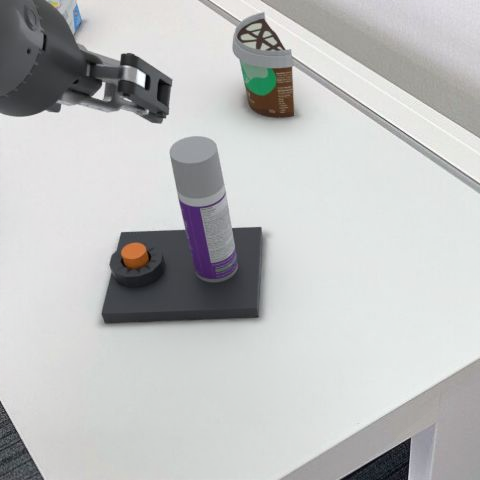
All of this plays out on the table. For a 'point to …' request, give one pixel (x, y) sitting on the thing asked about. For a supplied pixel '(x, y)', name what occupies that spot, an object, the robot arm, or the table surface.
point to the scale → (181, 281)
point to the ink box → (68, 12)
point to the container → (204, 207)
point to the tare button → (135, 255)
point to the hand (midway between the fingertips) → (108, 104)
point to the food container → (264, 67)
